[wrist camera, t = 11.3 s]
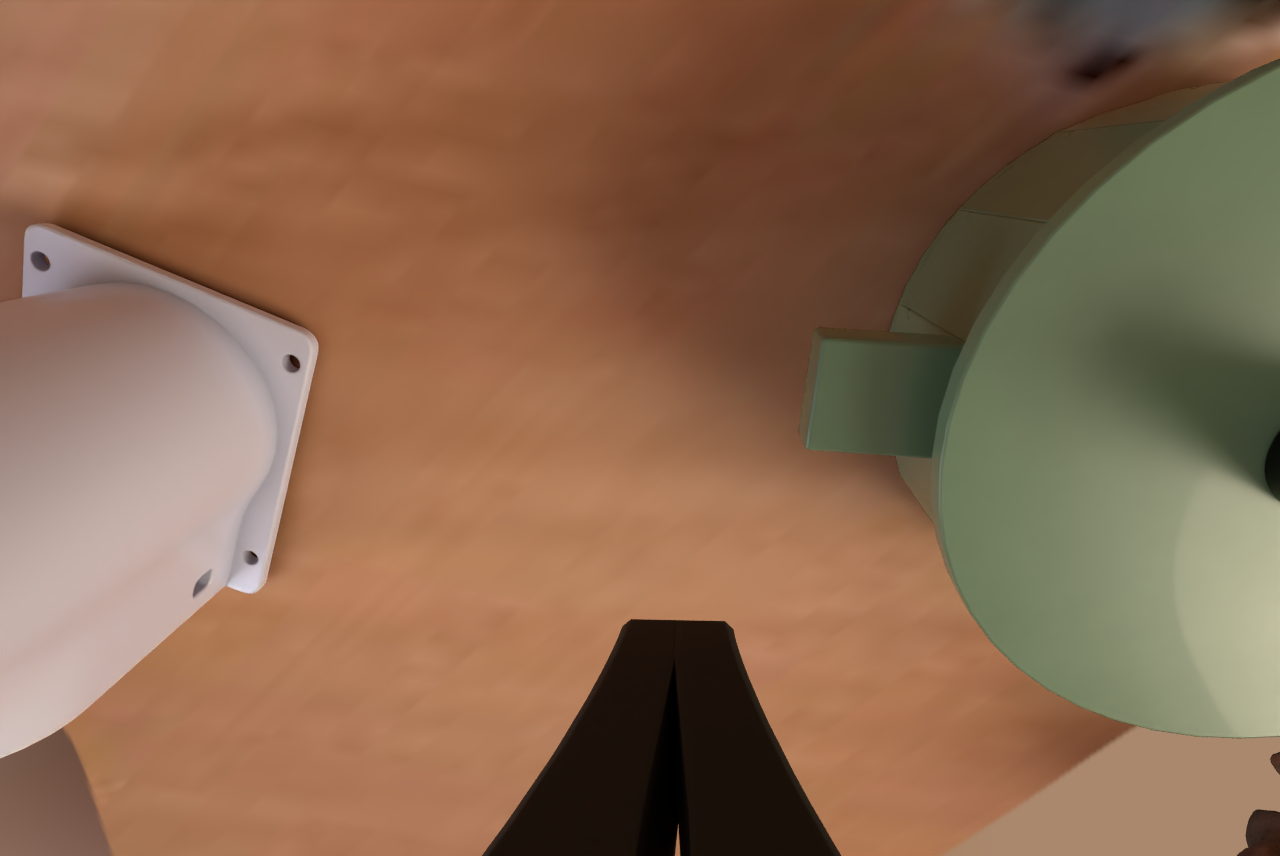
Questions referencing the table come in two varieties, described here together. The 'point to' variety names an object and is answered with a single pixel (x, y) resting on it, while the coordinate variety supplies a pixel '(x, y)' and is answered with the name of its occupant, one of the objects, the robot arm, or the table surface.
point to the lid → (1134, 433)
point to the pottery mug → (1264, 828)
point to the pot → (954, 298)
